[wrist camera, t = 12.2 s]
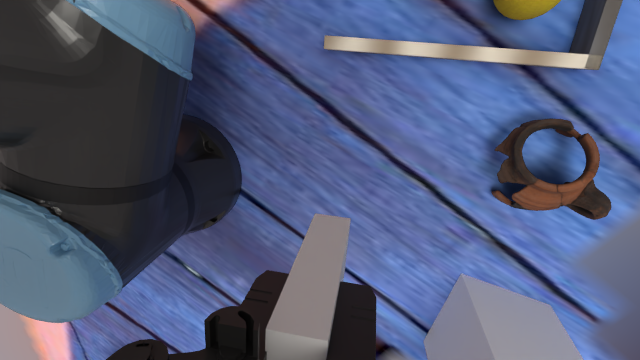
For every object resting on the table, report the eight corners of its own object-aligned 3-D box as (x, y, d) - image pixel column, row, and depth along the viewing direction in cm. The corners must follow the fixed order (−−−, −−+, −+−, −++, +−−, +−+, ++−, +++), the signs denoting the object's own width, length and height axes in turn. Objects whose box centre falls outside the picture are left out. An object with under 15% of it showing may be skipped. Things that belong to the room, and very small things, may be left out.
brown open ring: (462, 186, 40) (486, 170, 32) (504, 122, 41) (537, 90, 33) (563, 245, 37) (616, 244, 29) (605, 175, 38) (668, 154, 30)
